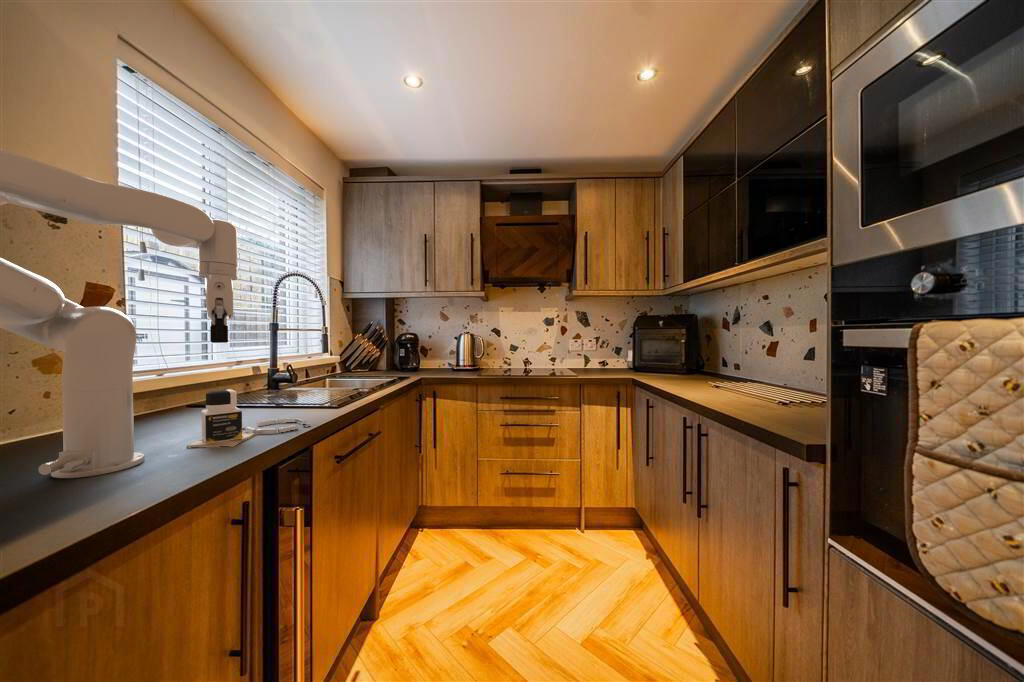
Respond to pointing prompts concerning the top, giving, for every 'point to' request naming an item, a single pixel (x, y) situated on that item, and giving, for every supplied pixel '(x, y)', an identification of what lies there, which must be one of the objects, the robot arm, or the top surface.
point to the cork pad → (225, 443)
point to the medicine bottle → (221, 417)
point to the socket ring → (274, 430)
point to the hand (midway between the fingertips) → (218, 342)
